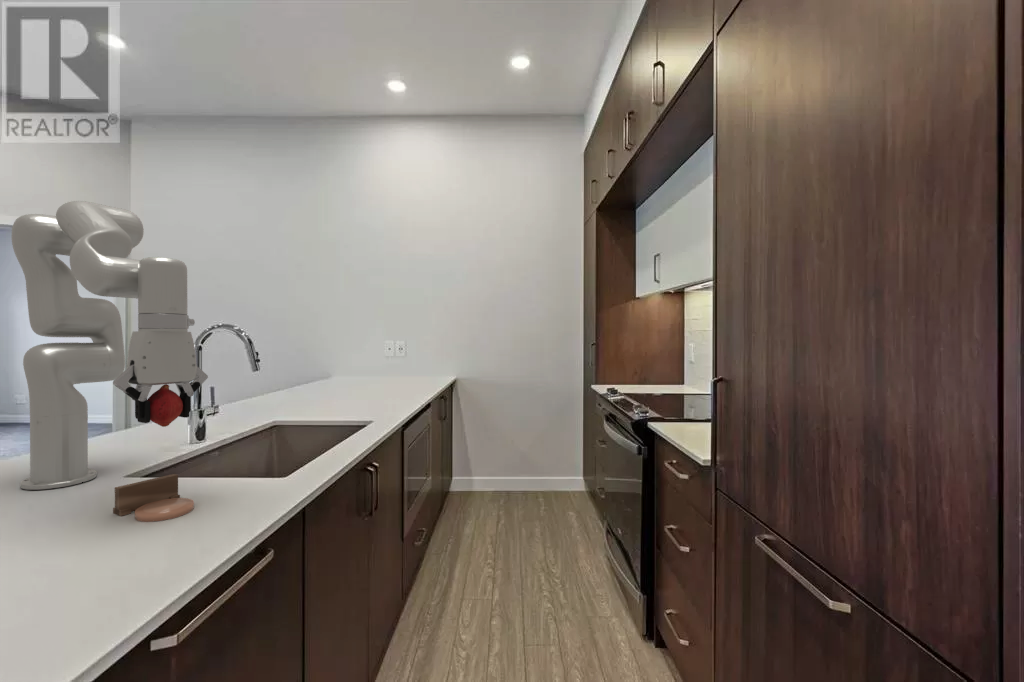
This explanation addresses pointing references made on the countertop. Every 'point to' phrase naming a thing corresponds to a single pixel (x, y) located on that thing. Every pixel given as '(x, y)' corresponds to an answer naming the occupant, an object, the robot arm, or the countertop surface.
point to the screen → (144, 493)
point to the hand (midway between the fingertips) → (164, 418)
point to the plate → (164, 509)
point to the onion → (164, 406)
